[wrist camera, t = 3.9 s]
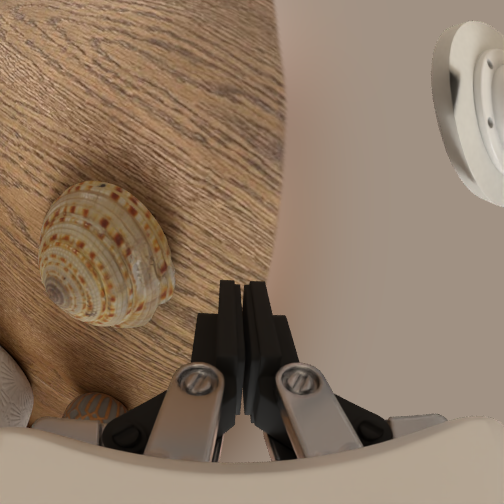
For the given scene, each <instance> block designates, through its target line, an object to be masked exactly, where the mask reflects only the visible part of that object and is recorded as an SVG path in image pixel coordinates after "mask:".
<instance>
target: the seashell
mask: <svg viewBox="0 0 504 504" xmlns="http://www.w3.org/2000/svg"><path fill="white" fill-rule="evenodd" d="M169 254H170V255H169ZM38 260H39V262H38V263H39V270H40V274H41V280H42V283H43V285H44V288H45V290H46V292H47V294H48V296H49V297H50V298H51V300H52V301H53V302H54V303H55V304H56V305H57V306H58V307H59V308H61V309H62V310H63V311H64V312H66V313H67V314H68V315H70V316H72V317H73V318H76V319H77V320H80V321H83V322H85V323H88V324H92V325H96V326H113V327H116V328H133V327H140V326H144V325H145V324H147V323H148V322H149V321H150V320H151V318H152V315H153V314H154V312H155V310H156V308H157V307H158V305H160V304H163V303H165V302H167V301H168V300H169V299H170V298H171V297H172V296H173V291H174V287H175V276H174V275H175V268H174V266H173V263H172V261H171V252H170V248H169V247H168V243H167V238H166V236H165V234H164V232H163V231H162V229H161V227H160V225H159V223H158V222H157V221H156V219H155V218H154V217H153V215H152V214H151V213H150V212H149V210H148V209H147V208H146V207H145V206H144V205H143V204H142V203H141V202H140V201H139V200H138V199H137V198H136V197H134V196H133V195H132V194H130V193H129V192H127V191H126V190H124V189H122V188H120V187H118V186H116V185H114V184H110V183H106V182H102V181H84V182H80V183H77V184H75V185H72V186H70V187H69V188H68V189H66V190H65V191H64V192H63V193H62V194H61V195H60V196H59V197H58V198H57V199H56V200H55V201H54V202H53V204H52V205H51V207H50V208H49V210H48V212H47V214H46V217H45V220H44V223H43V226H42V230H41V235H40V244H39V255H38Z"/></svg>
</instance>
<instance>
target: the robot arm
mask: <svg viewBox="0 0 504 504" xmlns="http://www.w3.org/2000/svg"><path fill="white" fill-rule="evenodd" d="M473 87H474V101H475V109H476V115H477V119H478V124H479V128H480V132H481V135H482V139H483V142H484V144H485V147H486V150H487V152H488V154H489V156H490V158H491V160H492V162H493V164H494V165H495V167H496V168H497V170H498V171H499V172H500V173H501V174H502V175H503V176H504V50H501V49H488V50H485V51H483V52H482V53H481V54H480V56H479V57H478V60H477V62H476V66H475V71H474V83H473ZM242 388H243V400H244V413H245V415H250V416H251V423H254V424H255V426H257V427H259V428H260V429H261V430H263V435H264V439H265V442H266V446H267V449H268V452H269V455H270V458H271V462H252V463H219V462H220V456H221V450H222V444H223V439H224V433H225V432H227V431H228V430H229V429H230V428H232V427H233V426H234V425H235V415H240V408H241V397H242ZM0 504H504V426H503V424H502V423H501V422H499V421H498V420H496V419H494V418H491V417H484V416H470V417H462V418H457V419H453V420H449V421H448V420H447V419H446V418H445V417H444V416H442V415H439V414H426V415H416V416H401V417H389V419H388V420H384V419H383V418H381V417H380V416H378V415H376V414H374V413H372V412H369V411H368V410H366V409H363V408H361V407H359V406H357V405H355V404H353V403H351V402H349V401H347V400H345V399H343V398H341V397H340V396H337V395H335V394H334V393H333V391H332V390H331V388H330V386H329V384H328V382H327V381H326V379H325V377H324V375H323V374H322V373H321V372H320V370H318V369H317V368H315V367H314V366H311V365H309V364H305V363H299V359H298V356H297V352H296V349H295V346H294V342H293V338H292V335H291V332H290V328H289V325H288V321H287V318H286V316H285V315H272V310H271V306H270V302H269V297H268V293H267V289H266V284H265V282H261V281H250V284H249V285H244V294H243V307H242V304H241V291H240V285H238V284H235V282H234V281H232V280H220V290H219V309H218V314H208V313H198V316H197V323H196V329H195V336H194V343H193V351H192V358H191V363H188V364H185V365H183V366H181V367H180V368H178V369H177V370H176V372H175V373H174V375H173V377H172V379H171V382H170V384H169V387H168V390H166V391H164V392H163V393H161V394H159V395H157V396H156V397H154V398H152V399H150V400H148V401H147V402H145V403H143V404H141V405H139V406H137V407H136V408H134V409H132V410H130V411H128V412H126V413H124V414H122V415H120V416H119V417H117V418H115V419H113V420H112V421H110V422H109V423H101V422H100V421H99V420H80V419H67V418H57V417H41V418H39V419H37V420H36V421H35V422H34V423H33V425H32V427H31V428H24V427H4V428H0Z"/></svg>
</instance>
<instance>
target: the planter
mask: <svg viewBox="0 0 504 504" xmlns="http://www.w3.org/2000/svg"><path fill="white" fill-rule="evenodd" d="M32 407H33V392H32V388H31V386H30V383H29V381H28V379H27V378H26V376H25V374H24V373H23V371H22V370H21V368H20V367H19V366H18V364H17V363H16V362H15V361H14V360H13V358H12V357H11V356H10V355H9V354H8V353H7V352H6V351H5V350H4V349H3V348H2V347H1V346H0V428H4V427H24V428H26V427H27V424H28V421H29V418H30V415H31V411H32Z"/></svg>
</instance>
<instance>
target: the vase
mask: <svg viewBox="0 0 504 504" xmlns="http://www.w3.org/2000/svg"><path fill="white" fill-rule="evenodd" d="M126 412H128V410H127V409H126V408H125V406H124V405H123V404H122V403H121V402H119V401H118V400H116V399H115V398H113V397H111V396H109V395H106V394H103V393H99V392H91V393H85V394H82V395H80V396H78V397H76V398H75V399H74V400H73V401H72V402H71V403H70V404H69V405H68V406H67V408H66V410H65V412H64V414H63V416H62V418H67V419H80V420H99V421H100V422H101V423H109V422H110V421H112V420H113V419H115V418H117V417H119V416H120V415H122V414H124V413H126Z"/></svg>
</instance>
